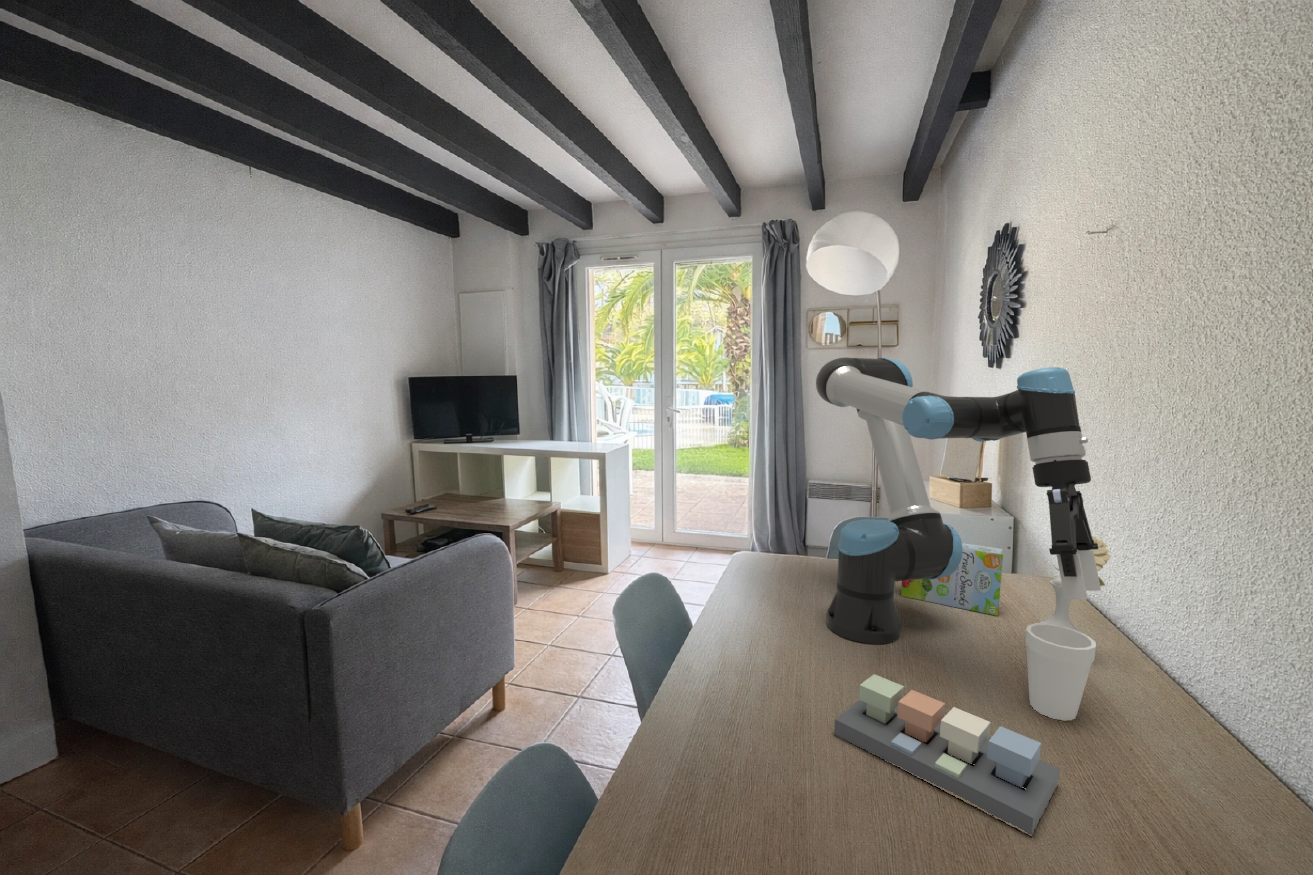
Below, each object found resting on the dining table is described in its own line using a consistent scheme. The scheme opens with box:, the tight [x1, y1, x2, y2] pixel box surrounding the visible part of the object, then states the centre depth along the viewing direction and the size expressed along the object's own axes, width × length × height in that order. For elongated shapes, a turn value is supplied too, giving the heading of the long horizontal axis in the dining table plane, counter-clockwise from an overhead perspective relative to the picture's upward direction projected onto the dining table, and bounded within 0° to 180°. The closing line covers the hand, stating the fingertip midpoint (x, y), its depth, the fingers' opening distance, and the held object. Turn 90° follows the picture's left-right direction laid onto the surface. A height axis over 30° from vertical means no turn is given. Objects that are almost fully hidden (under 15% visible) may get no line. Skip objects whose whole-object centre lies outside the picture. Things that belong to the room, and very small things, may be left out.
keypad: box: [833, 699, 1061, 836], centre depth 82 cm, size 26×13×3 cm, turn 43°
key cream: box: [940, 706, 991, 765], centre depth 79 cm, size 5×5×5 cm
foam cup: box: [1024, 622, 1097, 720], centre depth 94 cm, size 10×9×13 cm
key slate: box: [987, 725, 1042, 789], centre depth 75 cm, size 5×5×5 cm
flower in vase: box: [1038, 535, 1112, 633], centre depth 114 cm, size 13×11×25 cm
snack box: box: [900, 542, 1004, 617], centre depth 138 cm, size 21×6×15 cm, turn 58°
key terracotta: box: [897, 689, 946, 744], centre depth 83 cm, size 5×5×5 cm
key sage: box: [858, 673, 905, 725], centre depth 88 cm, size 5×5×5 cm
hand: (1083, 594), depth 89 cm, fingers open, 13 cm apart
